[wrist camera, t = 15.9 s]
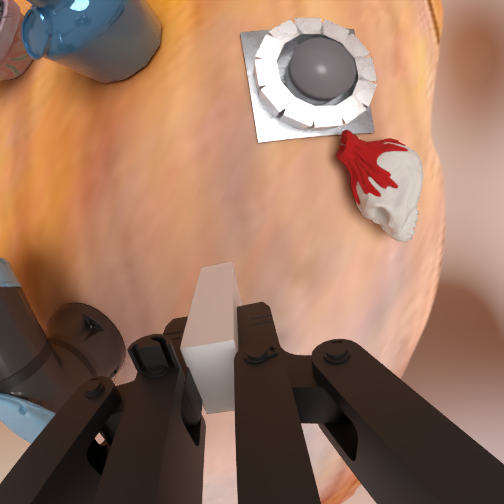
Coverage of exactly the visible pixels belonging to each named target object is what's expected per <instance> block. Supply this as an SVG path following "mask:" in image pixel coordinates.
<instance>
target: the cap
mask: <svg viewBox="0 0 504 504" xmlns="http://www.w3.org/2000/svg"><path fill="white" fill-rule="evenodd" d="M355 77H356V66H355V62H354V60H353V58H352V56H351V54H350V53H349V52H348V51H347V50H346V49H345V48H344V47H343V46H342V45H340V44H339V43H337V42H335V41H333V40H330V39H326V38H311V39H308V40H305V41H304V42H302V43H301V44H299V45H298V46H297V47H296V49H295V50H294V52H293V55H292V57H291V59H290V61H289V63H288V65H287V68H286V71H285V82H286V85H287V87H288V89H289V91H290V92H291V93H292V95H293V96H294V97H296V98H297V99H299V100H301V101H304V102H306V103H308V104H311V105H322V104H326V103H328V102H330V101H332V100H333V99H335V98H336V97H338V96H339V95H341V94H343V93H344V92H346V91H347V90H348V89H349V88H350V87H351V86H352V85H353V83H354V81H355Z"/></svg>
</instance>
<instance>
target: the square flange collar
mask: <svg viewBox="0 0 504 504" xmlns="http://www.w3.org/2000/svg"><path fill="white" fill-rule="evenodd" d="M240 36H241V42H242V47H243V53H244V59H245V65H246V71H247V77H248V83H249V89H250V95H251V101H252V107H253V113H254V120H255V126H256V132H257V139H258V143H261V142H269V141H277V140H286V139H295V138H305V137H316V136H329V135H341V133H342V131H344V130H346V129H347V130H349V131H351V132H352V133H353V134H363V133H374V126H373V120H372V113H371V107H370V102H371V99H372V97H373V94H374V91H375V88H376V86H377V85H376V84H374V82H376V81H377V79H376V74H375V69H374V65H373V60H372V57H366V56H367V55H368V54H370V53H369V52H368V50H367V49H366V48H365V47H364V46H363V44H362V43H361V42H360V41H359V40H358V38H357V37H356V36H355V33H354V29H345V28H343V27H341V26H339V25H337V24H335V23H333V22H330V21H328V20H326V19H325V20H324V21H323V23H322V21H321V18H294V20H293V22H292V21H291V20H288V21H286V22H284V23H283V24H281V25H279V26H277V27H276V28H274V29H272V30H261V31H251V32H242V33H240ZM311 38H326V39H330V40H333V41H335V42H337V43H339V44H340V45H342V46H343V47H344V48H345V49H346V50H347V51H348V52H349V53H350V54H351V56H352V58H353V60H354V62H355V66H356V77H355V81H354V83H353V85H352V86H351V87H350V88H349V89H348V90H347V91H346V92H344V93H343V94H341V95H339V96H338V97H336V98H335V99H333V100H332V101H330V102H328V103H326V104H322V105H311V104H308V103H306V102H304V101H301V100H299V99H297V98H296V97H294V96H293V95H292V93H291V92H290V91H289V89H288V87H287V85H286V82H285V71H286V68H287V65H288V63H289V61H290V59H291V57H292V55H293V52H294V50H295V49H296V47H297V46H298V45H299V44H301V43H302V42H304V41H305V40H308V39H311Z"/></svg>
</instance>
